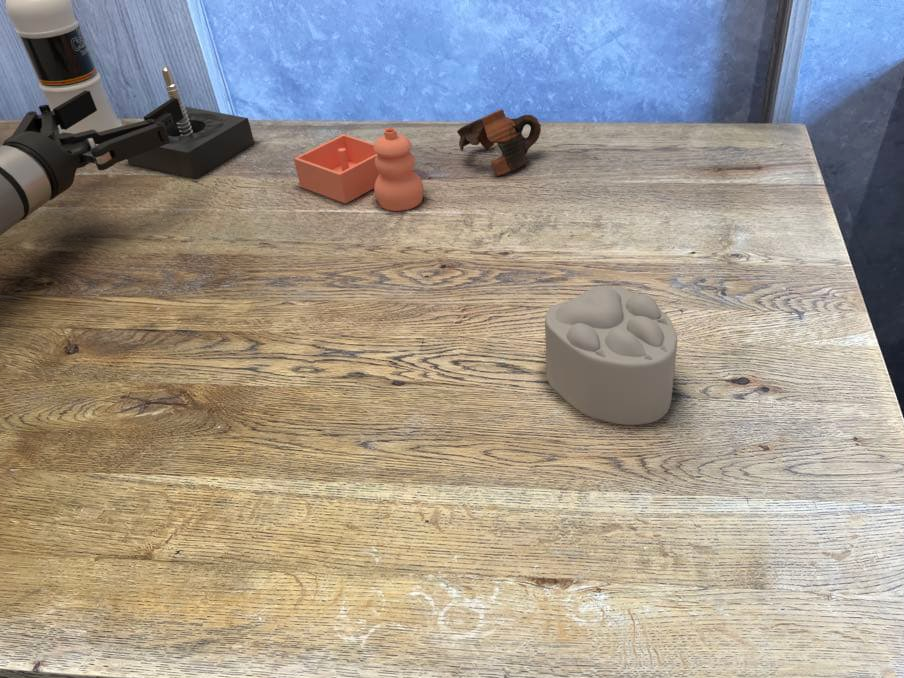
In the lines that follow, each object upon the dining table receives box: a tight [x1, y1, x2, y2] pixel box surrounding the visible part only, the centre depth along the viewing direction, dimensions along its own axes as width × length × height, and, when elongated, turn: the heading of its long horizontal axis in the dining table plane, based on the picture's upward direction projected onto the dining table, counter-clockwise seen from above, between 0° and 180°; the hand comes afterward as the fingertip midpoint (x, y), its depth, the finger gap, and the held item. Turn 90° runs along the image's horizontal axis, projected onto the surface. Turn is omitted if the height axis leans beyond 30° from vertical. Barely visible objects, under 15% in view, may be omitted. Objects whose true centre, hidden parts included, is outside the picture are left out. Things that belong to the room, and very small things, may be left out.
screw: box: [161, 65, 195, 137], centre depth 120 cm, size 13×5×5 cm
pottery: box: [293, 127, 424, 212], centre depth 110 cm, size 18×10×10 cm, turn 54°
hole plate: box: [126, 106, 255, 180], centre depth 123 cm, size 13×13×4 cm
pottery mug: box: [456, 109, 542, 177], centre depth 118 cm, size 12×10×8 cm
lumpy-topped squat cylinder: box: [544, 285, 678, 426], centre depth 78 cm, size 10×13×9 cm
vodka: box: [5, 0, 123, 148], centre depth 118 cm, size 9×9×30 cm
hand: (134, 104), depth 111 cm, fingers open, 13 cm apart
